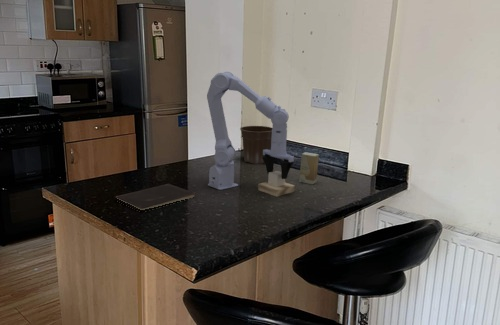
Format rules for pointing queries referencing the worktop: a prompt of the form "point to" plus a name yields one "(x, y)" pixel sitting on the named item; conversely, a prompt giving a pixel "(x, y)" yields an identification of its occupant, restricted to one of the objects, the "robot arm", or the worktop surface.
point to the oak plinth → (276, 189)
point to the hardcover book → (156, 196)
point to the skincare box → (309, 168)
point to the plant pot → (255, 142)
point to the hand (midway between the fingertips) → (276, 176)
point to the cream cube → (275, 179)
